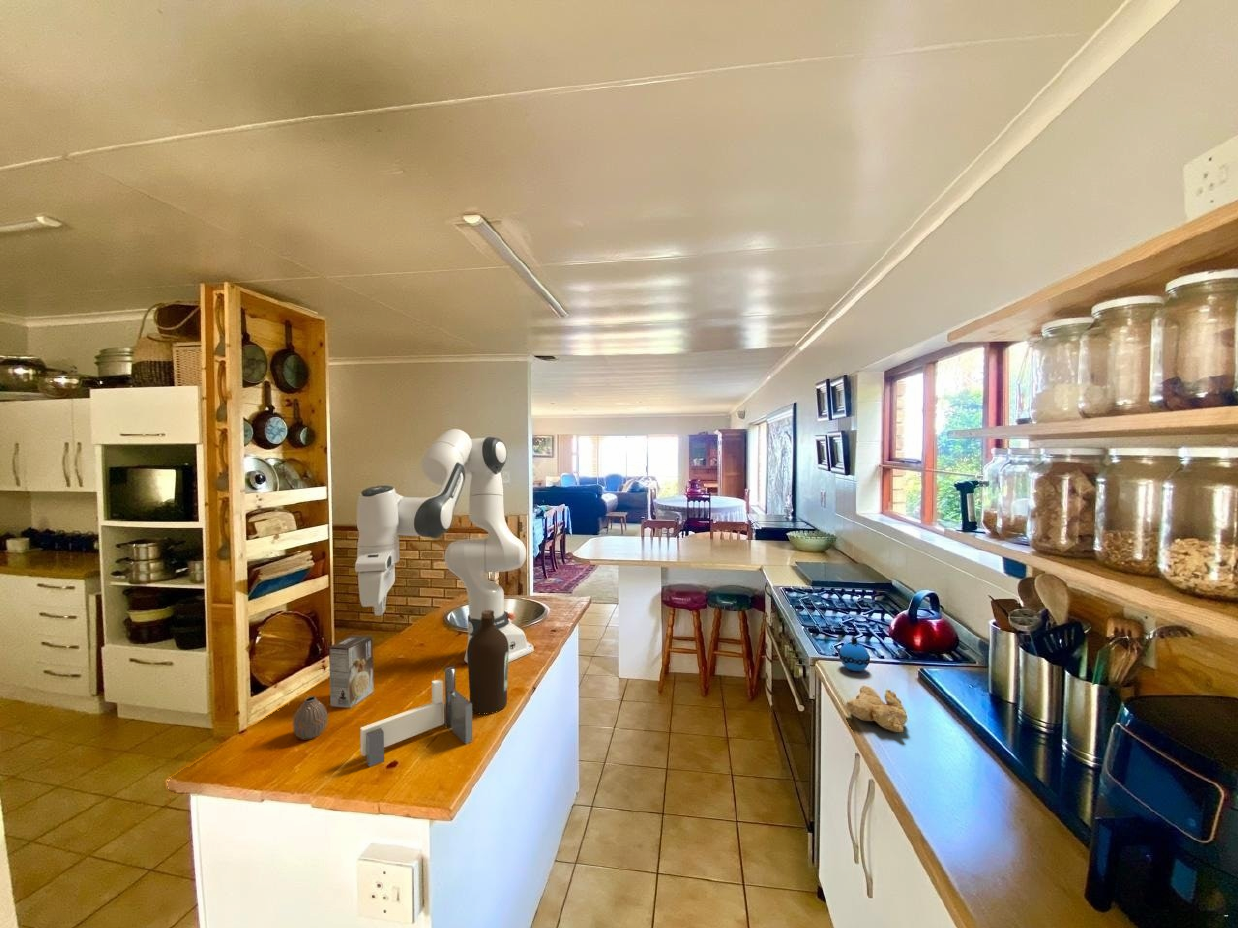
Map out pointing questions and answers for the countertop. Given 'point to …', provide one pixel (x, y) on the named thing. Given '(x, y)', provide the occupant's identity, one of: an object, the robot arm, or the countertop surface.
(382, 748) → the gate posts
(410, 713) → the gate
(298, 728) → the vase
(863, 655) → the ornament
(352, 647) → the coffee box
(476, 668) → the olive oil
